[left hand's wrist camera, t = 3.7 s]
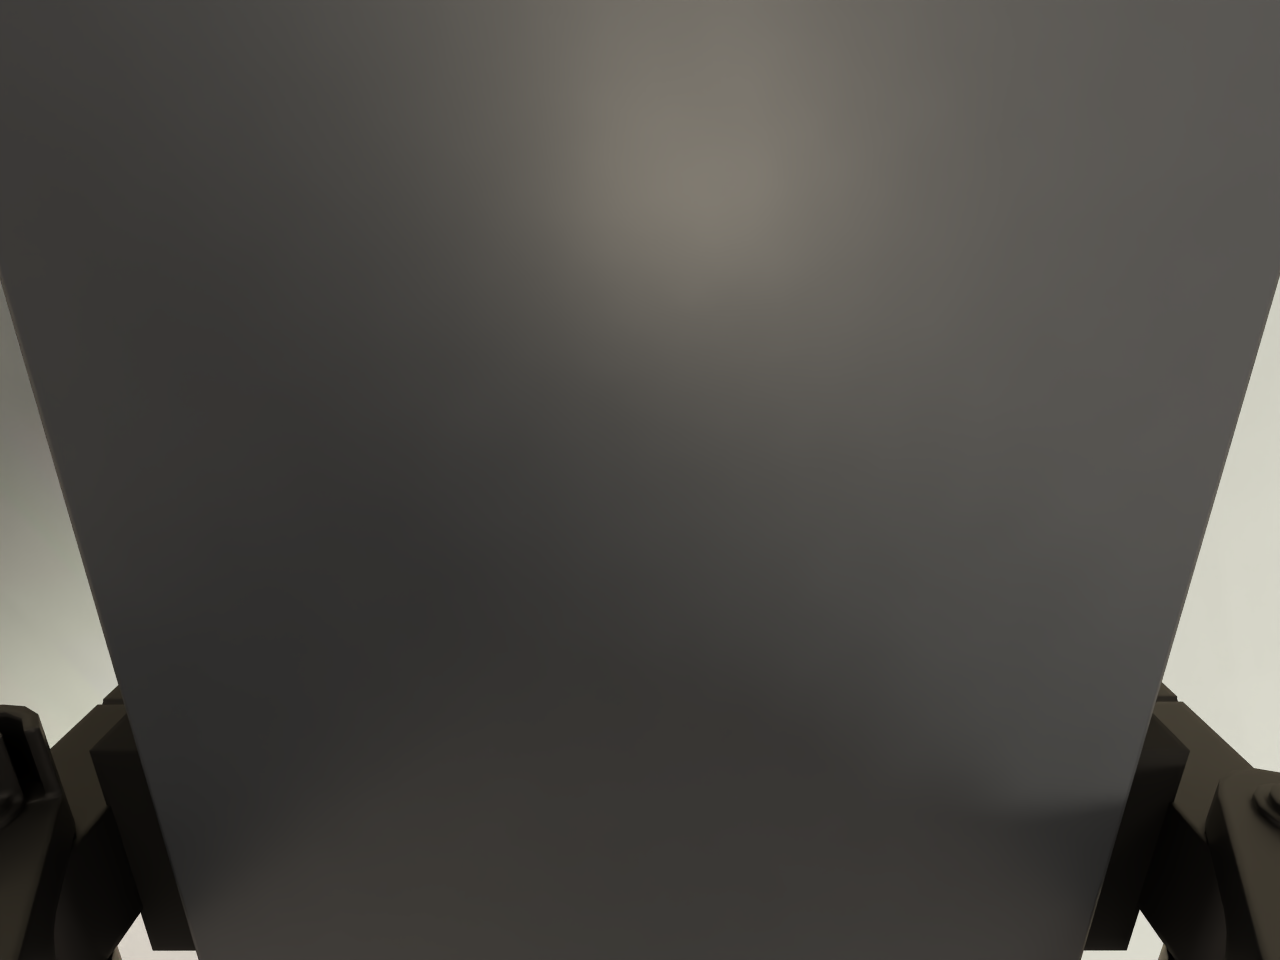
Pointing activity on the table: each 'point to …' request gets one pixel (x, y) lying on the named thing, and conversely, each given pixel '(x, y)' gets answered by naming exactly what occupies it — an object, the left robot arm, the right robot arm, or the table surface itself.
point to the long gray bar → (639, 448)
